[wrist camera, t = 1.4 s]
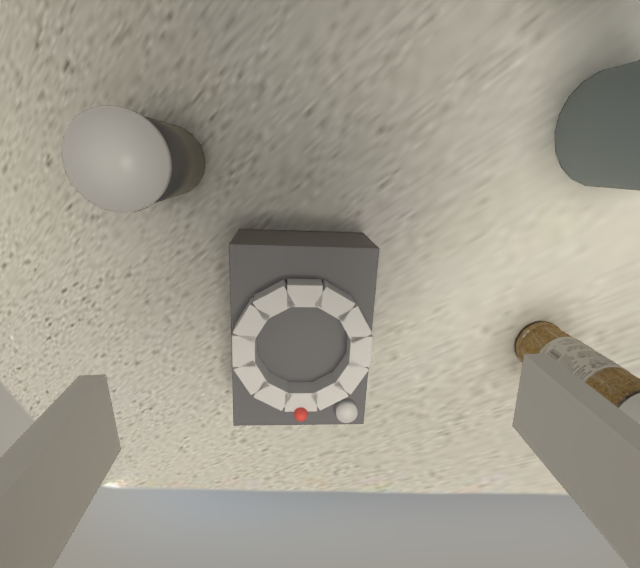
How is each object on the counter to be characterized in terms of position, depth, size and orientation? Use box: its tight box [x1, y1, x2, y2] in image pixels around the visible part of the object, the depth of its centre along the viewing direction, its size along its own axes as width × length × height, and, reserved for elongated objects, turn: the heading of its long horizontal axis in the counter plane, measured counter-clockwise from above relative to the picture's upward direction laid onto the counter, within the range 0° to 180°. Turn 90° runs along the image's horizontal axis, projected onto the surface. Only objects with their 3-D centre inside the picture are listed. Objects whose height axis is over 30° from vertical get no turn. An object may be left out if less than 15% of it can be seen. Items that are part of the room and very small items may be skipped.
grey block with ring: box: [229, 229, 379, 426], centre depth 30 cm, size 14×10×8 cm
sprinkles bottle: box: [516, 322, 640, 424], centre depth 30 cm, size 5×5×14 cm
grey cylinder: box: [62, 105, 205, 212], centre depth 25 cm, size 5×5×10 cm
